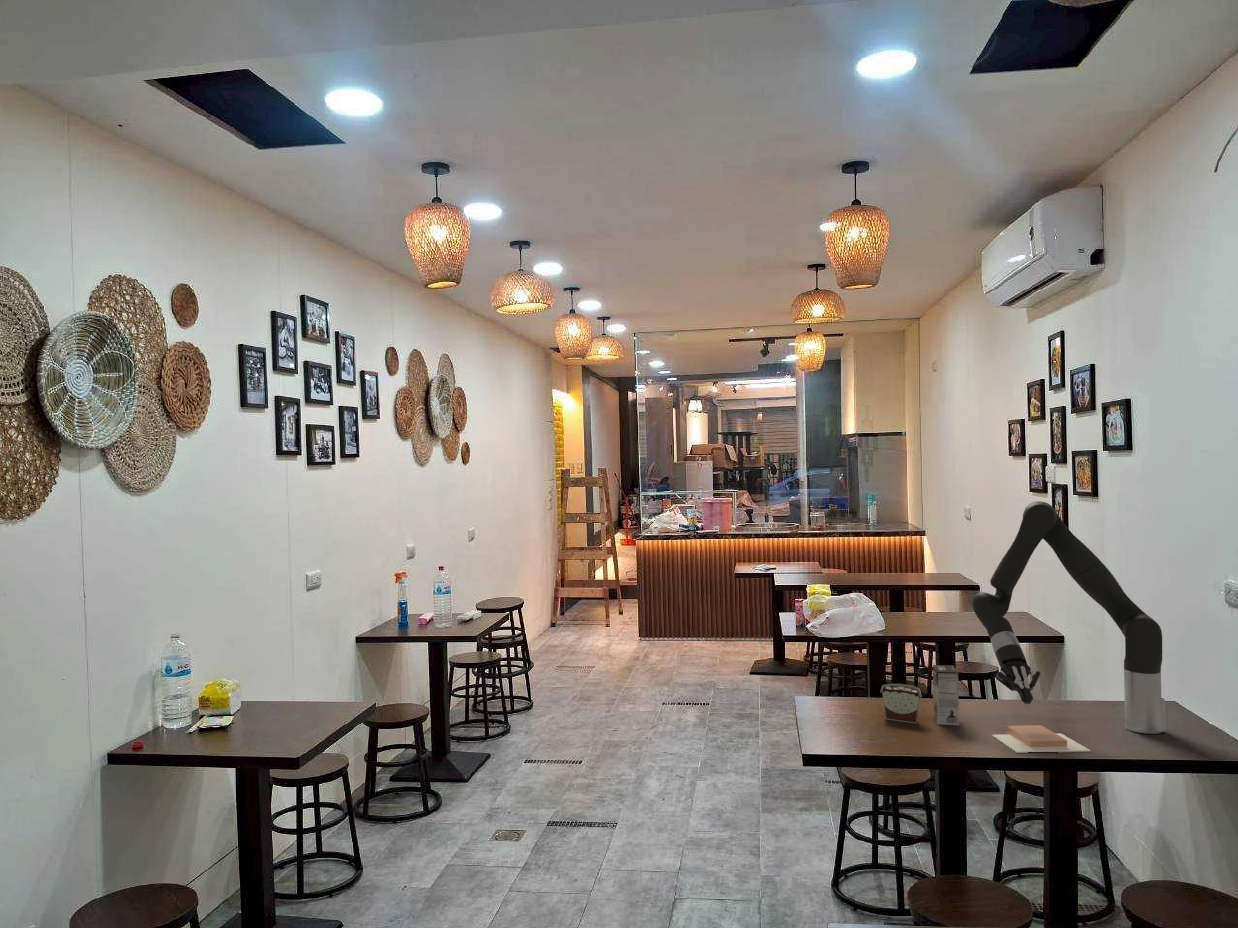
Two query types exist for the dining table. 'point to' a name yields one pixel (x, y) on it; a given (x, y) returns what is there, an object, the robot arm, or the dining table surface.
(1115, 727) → the dining table surface
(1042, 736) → the tan flat block
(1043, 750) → the mat
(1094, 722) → the dining table surface
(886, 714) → the food container
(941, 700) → the coffee box
